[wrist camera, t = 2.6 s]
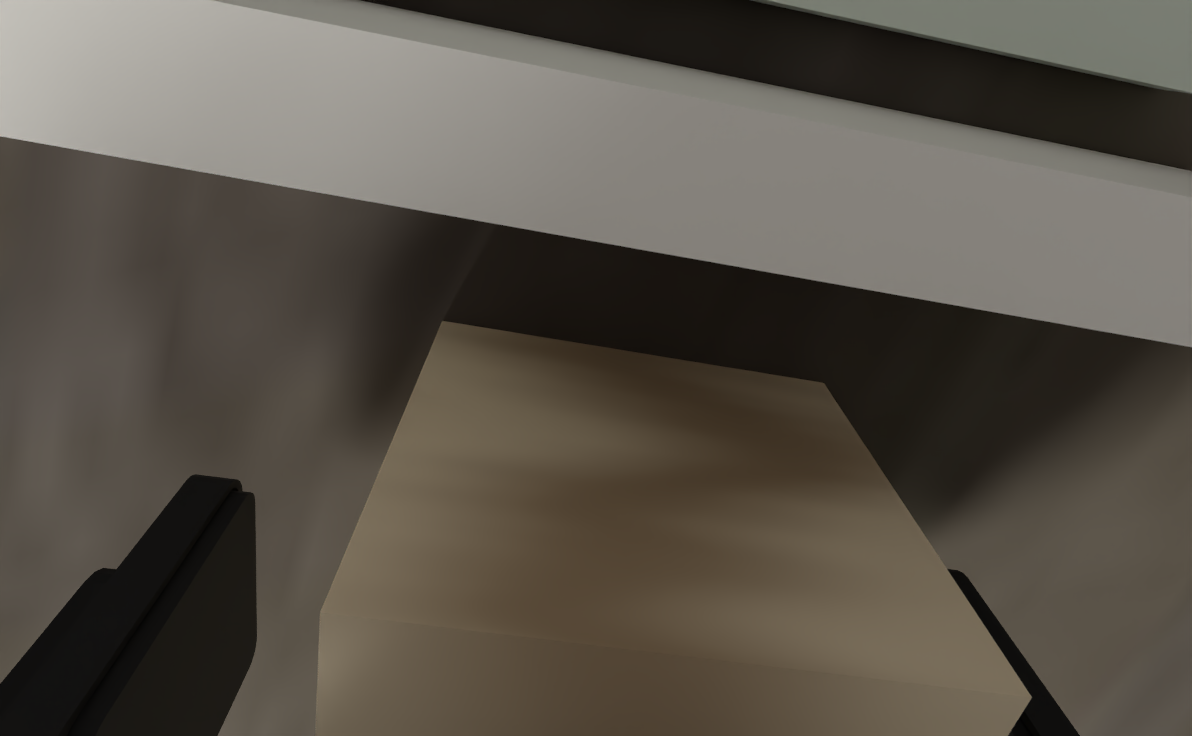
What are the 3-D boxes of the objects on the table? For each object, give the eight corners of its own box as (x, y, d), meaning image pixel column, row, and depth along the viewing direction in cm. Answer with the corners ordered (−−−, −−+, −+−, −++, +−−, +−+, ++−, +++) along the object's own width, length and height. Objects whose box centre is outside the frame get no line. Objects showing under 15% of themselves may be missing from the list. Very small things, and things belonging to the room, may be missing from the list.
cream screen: (1190, 170, 10) (1588, 277, 6) (1146, 253, 11) (1489, 399, 7) (138, -47, 9) (-229, -89, 5) (146, 61, 9) (-181, 104, 5)
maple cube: (821, 380, 12) (1031, 697, 6) (721, 657, 14) (809, 1047, 9) (442, 318, 11) (320, 612, 6) (410, 620, 14) (304, 1016, 8)
